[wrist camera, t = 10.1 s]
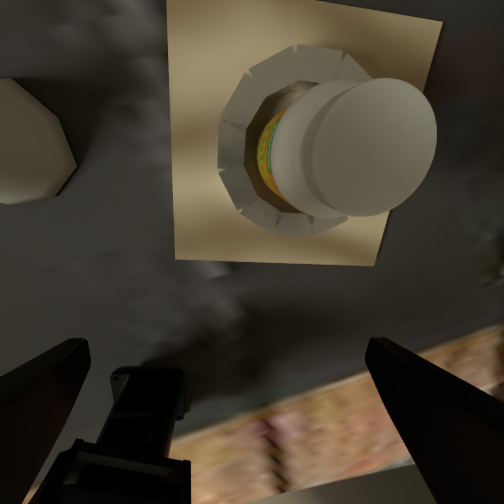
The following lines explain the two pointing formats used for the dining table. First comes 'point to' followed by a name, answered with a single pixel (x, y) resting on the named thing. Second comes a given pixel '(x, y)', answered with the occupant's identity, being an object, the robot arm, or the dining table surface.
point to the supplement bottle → (349, 147)
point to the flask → (30, 148)
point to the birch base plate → (268, 115)
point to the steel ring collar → (244, 109)
